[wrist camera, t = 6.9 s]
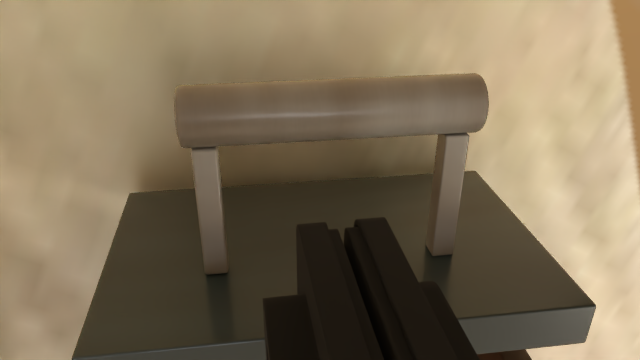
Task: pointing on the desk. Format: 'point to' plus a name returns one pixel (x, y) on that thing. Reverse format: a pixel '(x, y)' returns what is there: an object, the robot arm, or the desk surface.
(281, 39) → the desk surface
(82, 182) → the desk surface
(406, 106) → the drawer
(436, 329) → the robot arm
